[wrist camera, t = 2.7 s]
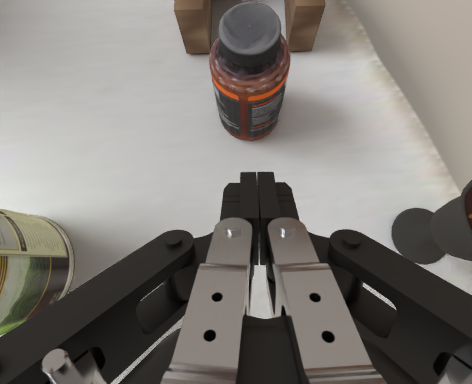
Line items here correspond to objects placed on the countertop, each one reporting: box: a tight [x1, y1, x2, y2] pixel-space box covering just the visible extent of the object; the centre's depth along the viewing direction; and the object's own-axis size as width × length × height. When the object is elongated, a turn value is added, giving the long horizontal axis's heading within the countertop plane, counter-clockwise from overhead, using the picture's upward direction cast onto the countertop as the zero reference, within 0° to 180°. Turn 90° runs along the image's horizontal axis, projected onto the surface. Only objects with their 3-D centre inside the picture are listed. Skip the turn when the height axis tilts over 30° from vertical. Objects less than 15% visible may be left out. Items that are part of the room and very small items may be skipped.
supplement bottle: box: [209, 2, 290, 140], centre depth 24 cm, size 6×6×11 cm
